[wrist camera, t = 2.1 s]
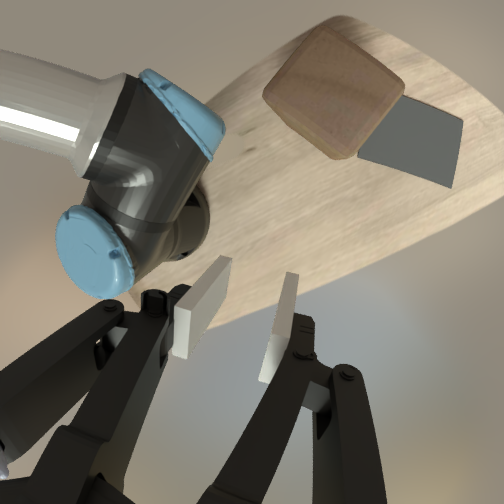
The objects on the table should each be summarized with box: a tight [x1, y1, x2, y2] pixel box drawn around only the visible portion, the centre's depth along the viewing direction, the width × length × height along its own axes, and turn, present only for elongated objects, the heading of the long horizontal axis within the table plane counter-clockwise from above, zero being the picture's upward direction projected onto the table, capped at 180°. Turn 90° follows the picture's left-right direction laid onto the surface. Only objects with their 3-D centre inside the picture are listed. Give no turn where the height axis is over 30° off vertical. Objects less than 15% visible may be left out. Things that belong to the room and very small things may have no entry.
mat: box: [358, 96, 463, 188], centre depth 38 cm, size 17×12×1 cm
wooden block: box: [262, 25, 405, 160], centre depth 30 cm, size 10×10×20 cm
